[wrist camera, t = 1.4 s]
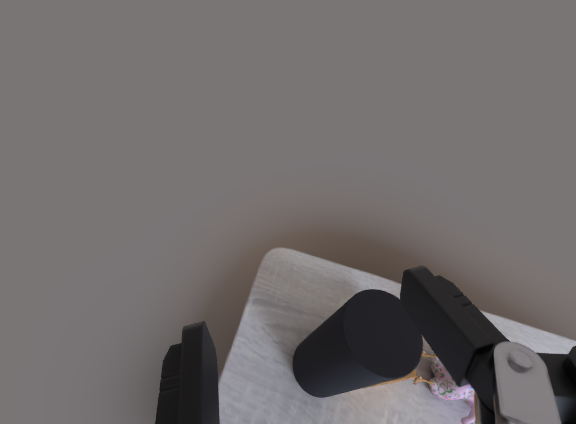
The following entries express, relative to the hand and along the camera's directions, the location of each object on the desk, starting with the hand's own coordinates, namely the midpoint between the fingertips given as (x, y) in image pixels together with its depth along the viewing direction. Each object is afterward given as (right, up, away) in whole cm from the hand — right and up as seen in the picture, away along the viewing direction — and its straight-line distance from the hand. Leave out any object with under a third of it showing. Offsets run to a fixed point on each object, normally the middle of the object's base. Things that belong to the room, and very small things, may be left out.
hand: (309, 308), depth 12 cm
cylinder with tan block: (+5, -11, +17) cm, 21 cm away
